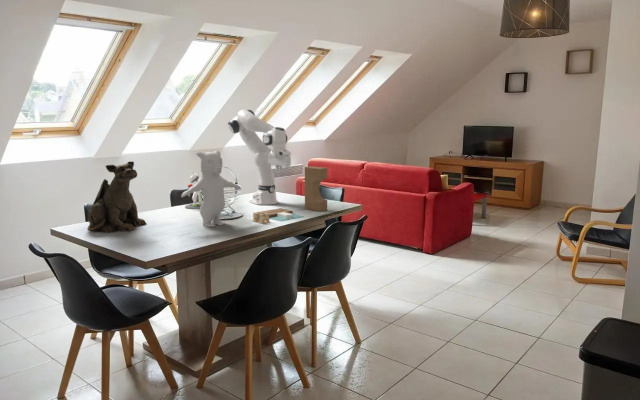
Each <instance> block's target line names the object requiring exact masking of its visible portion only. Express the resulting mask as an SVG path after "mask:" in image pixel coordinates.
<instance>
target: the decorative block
mask: <svg viewBox="0 0 640 400" xmlns="http://www.w3.org/2000/svg"><path fill="white" fill-rule="evenodd" d="M325 179H328V167H322V166H320V167H319V166H313V165H312V166H305V167H304V209H305V210H309V211H313V212H314V211H315V212H320V213H321V212H325V211H327V210H328V200H327V199H325V198H324V197H323V196H322V195H321V190H320V187H321V185H320V184H321V183H322V181H324V180H325Z"/></svg>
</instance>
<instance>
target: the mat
mask: <svg viewBox="0 0 640 400" xmlns="http://www.w3.org/2000/svg"><path fill="white" fill-rule="evenodd" d="M304 217H305V216H304V215H300V214H295V213H293V217H291V218H282V217H278V216H277V217H271V218H269V220H273V221H276V222H277V221H278V222H284V221H290V220H294V219H300V218H304Z"/></svg>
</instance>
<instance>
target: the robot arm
mask: <svg viewBox="0 0 640 400" xmlns="http://www.w3.org/2000/svg"><path fill="white" fill-rule="evenodd" d="M227 126H228V129H229V131H230V132H231V133H233V134H238V133H239V136H240V138H241V140H242V141H243V143H245V145H246V146H247V148H248V149H249V151H251V152H252V153H254V154H255V156H254V157H253V158H254V159H253V163H254V164H255V166H256V167H257V171H258V175H259V185H257V187H258V188H257V190H256V191H255V192H254V193H253V194H252V199H251V200H249V202H250V203H252V204H255V205H259V206H261V205H262V206H264V205H265V206H269V205H275V204H277V203H278V199H277V192H276V191H275V190H276V185H275V173H274V172H273V169H272V166H275V170H276V172H277V173H282V169H283V168H289V167H291V162H292V158H291V154H292V152H291V151H289V150H288V149H287V145H286V144H287V142H288V135H287V133H286V129H285V128H283V127H279V126H276V127H274V126H273V125H271V124H269V123H267V122H266V121H264V120H263V119H261V118H259V117H258V116H257V115H256V114H255V112H254V111H253V110H252V109H247V110H246V109H241V110H239V111H238V112H237V115H236V116H234V117H233V118H232V119H230V120H229V121H227ZM257 132H259V133H264V134H263V135H262V139H261V138H260V137H259V135H258V134H257ZM270 147H272V149H271V148H270Z"/></svg>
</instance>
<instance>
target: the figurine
mask: <svg viewBox="0 0 640 400" xmlns="http://www.w3.org/2000/svg"><path fill="white" fill-rule="evenodd" d="M199 179H200V178H199V174H198V173H194V172H192V175H191V176H190V177H189V180H190V183H188V184H187V190H188V189H189V188H190V187H192V186H194V184H195V183H196V182H197V181H198V180H199ZM192 194H193V195H192V197H191V200H192V201H193V203H188V204H186V205H185V206H184V208H185V209H187V210H200V207H201V204H202V202H203V195H202V192H201V191H196V192H193V193H192Z"/></svg>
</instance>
